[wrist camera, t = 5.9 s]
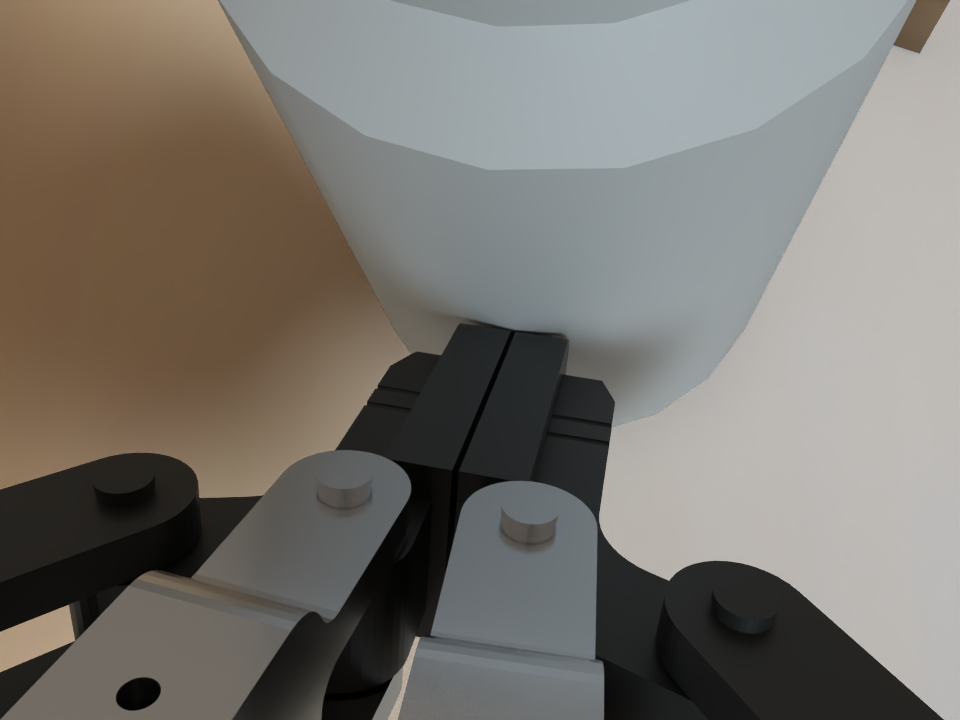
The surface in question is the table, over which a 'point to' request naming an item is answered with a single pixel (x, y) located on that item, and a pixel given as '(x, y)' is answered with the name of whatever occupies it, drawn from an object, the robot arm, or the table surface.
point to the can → (571, 160)
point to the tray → (920, 24)
